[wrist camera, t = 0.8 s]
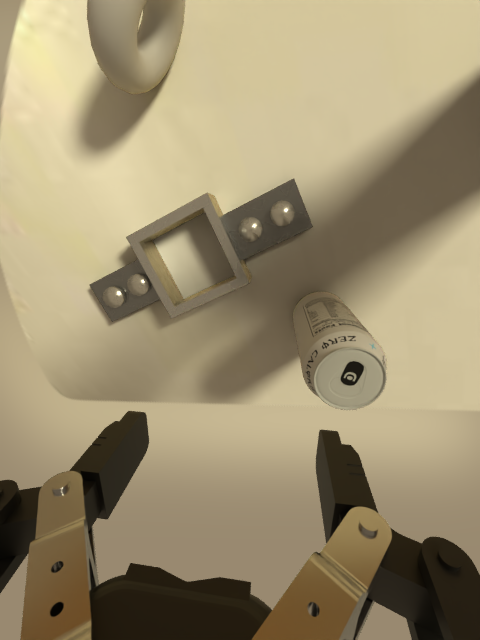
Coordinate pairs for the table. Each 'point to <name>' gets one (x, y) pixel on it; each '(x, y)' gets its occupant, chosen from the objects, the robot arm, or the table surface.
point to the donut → (135, 40)
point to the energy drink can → (338, 353)
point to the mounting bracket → (233, 234)
